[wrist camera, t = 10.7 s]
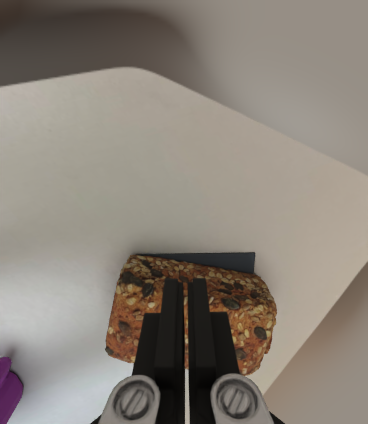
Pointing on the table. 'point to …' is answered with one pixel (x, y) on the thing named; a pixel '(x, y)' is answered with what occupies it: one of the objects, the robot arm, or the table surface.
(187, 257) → the corner pad
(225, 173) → the table surface
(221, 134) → the table surface
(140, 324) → the bread
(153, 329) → the robot arm
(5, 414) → the mug
